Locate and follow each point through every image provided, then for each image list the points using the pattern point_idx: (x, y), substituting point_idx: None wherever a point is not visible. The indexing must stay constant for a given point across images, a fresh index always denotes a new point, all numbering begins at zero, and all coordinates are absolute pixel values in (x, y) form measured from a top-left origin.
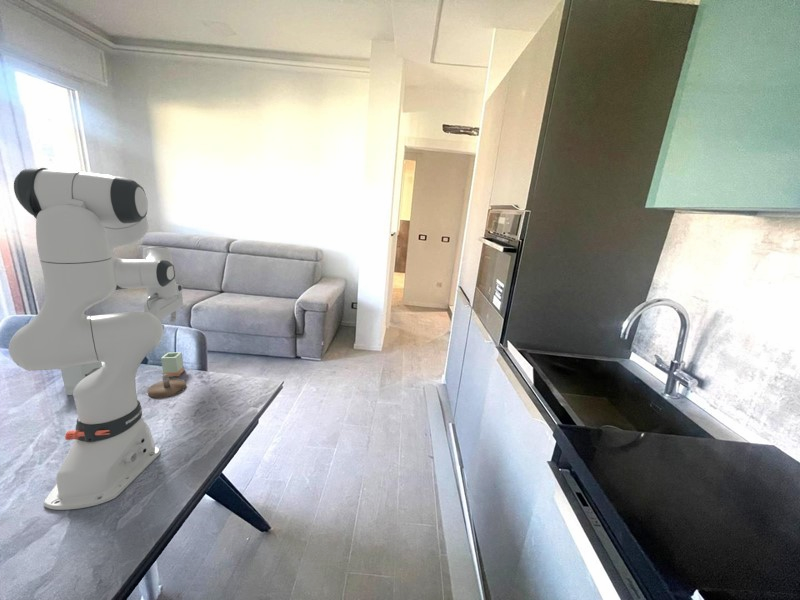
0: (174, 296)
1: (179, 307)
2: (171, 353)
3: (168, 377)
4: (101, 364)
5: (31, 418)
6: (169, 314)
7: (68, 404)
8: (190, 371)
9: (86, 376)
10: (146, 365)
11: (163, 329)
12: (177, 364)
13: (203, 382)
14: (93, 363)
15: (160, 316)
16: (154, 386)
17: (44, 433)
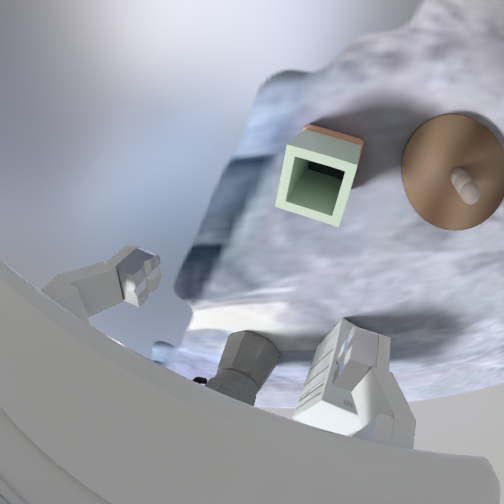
0: None
1: (16, 281)
2: (287, 188)
3: (472, 180)
4: (331, 370)
5: (425, 385)
6: (218, 393)
7: (405, 357)
8: (326, 100)
9: None
10: (234, 245)
11: (369, 331)
12: (351, 151)
13: (445, 53)
14: (349, 392)
15: (441, 498)
16: (438, 213)
17: (494, 362)
